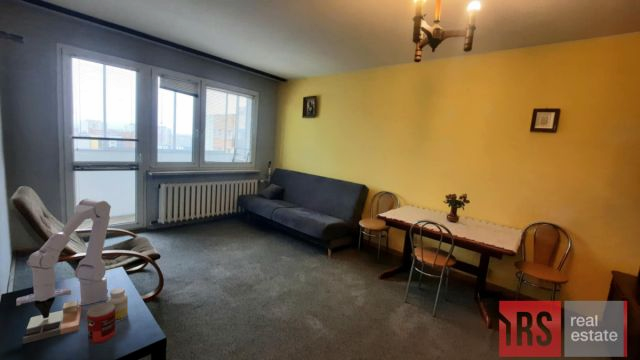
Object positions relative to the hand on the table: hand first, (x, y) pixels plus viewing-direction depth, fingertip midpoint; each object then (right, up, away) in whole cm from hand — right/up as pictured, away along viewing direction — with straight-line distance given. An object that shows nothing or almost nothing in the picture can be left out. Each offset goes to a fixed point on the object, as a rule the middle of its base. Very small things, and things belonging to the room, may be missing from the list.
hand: (46, 316), depth 107 cm
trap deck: (+4, -3, 0) cm, 5 cm away
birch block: (+6, -1, +4) cm, 7 cm away
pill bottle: (+22, -4, +7) cm, 23 cm away
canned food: (+24, -6, -4) cm, 25 cm away
